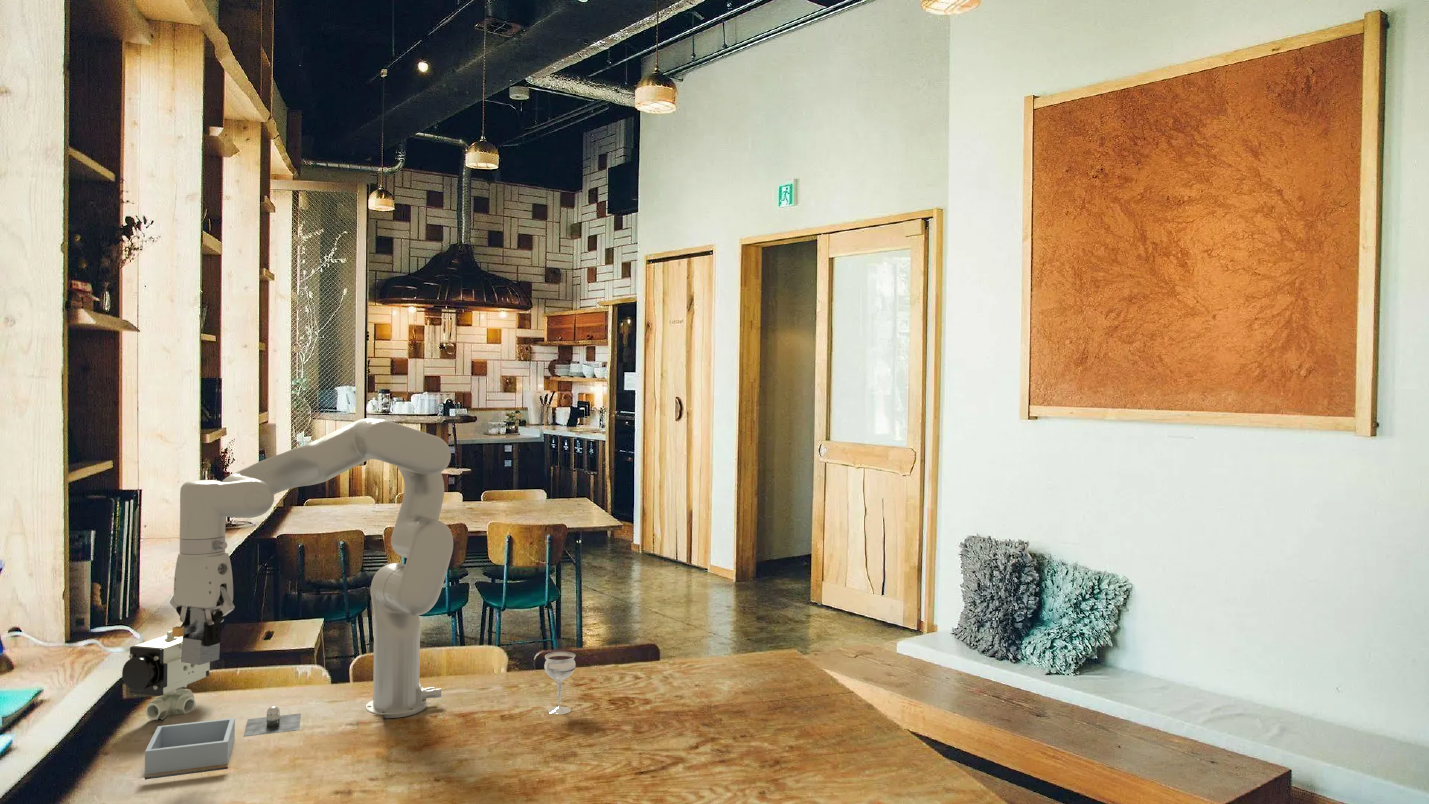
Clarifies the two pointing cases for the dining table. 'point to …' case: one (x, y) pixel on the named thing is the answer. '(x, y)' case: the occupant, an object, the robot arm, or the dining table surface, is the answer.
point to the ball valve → (163, 676)
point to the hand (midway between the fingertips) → (201, 642)
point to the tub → (190, 747)
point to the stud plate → (262, 722)
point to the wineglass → (559, 674)
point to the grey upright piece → (196, 639)
